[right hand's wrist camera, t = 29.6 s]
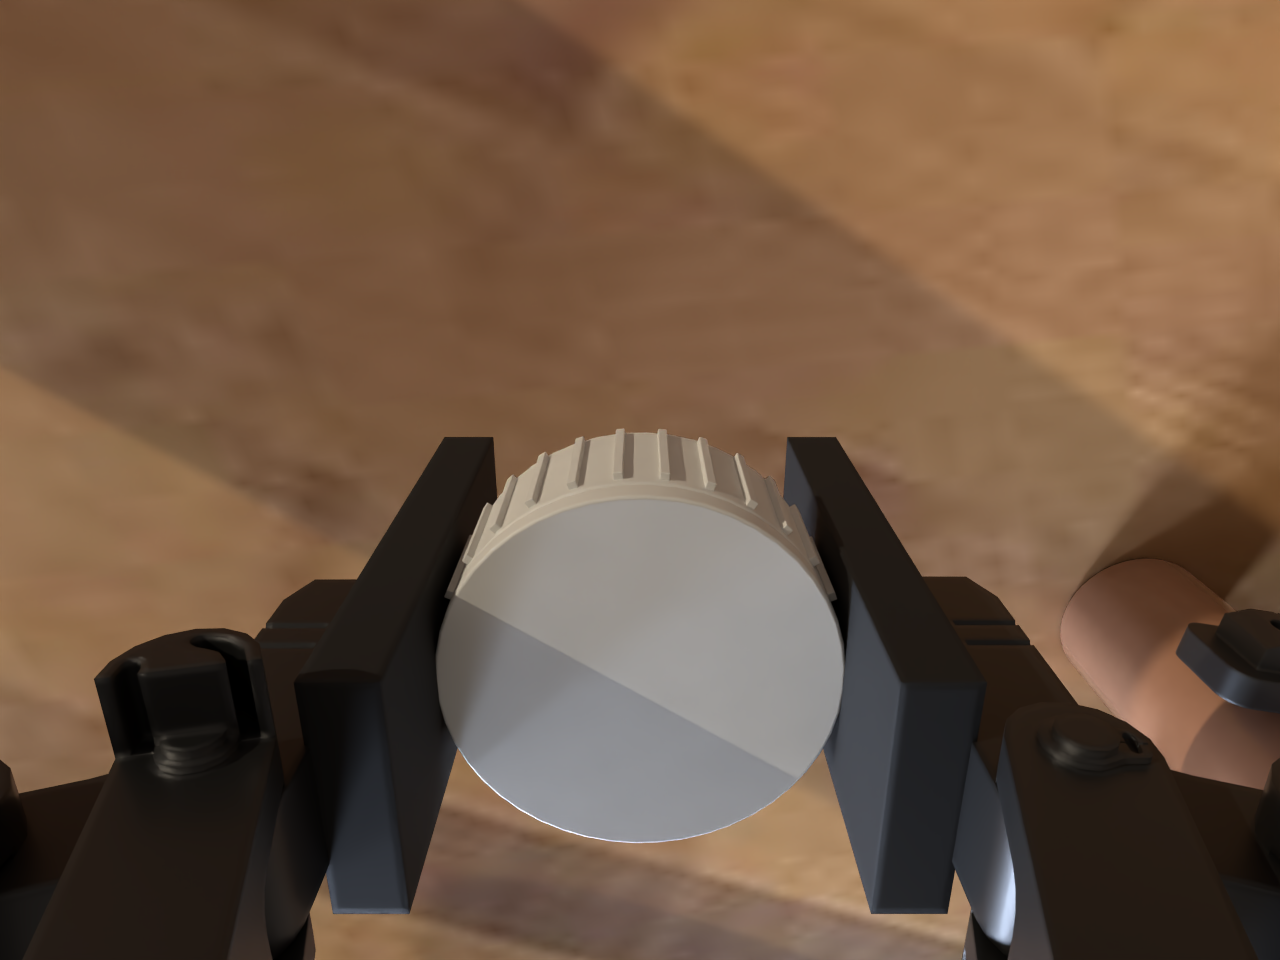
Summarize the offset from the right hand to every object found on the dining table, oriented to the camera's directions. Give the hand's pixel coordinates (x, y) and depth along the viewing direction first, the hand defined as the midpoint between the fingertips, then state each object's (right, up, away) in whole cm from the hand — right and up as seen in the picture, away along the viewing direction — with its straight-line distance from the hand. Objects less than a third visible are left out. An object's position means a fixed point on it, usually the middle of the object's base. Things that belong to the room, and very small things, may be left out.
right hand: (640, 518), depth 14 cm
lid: (0, -2, -4) cm, 4 cm away
